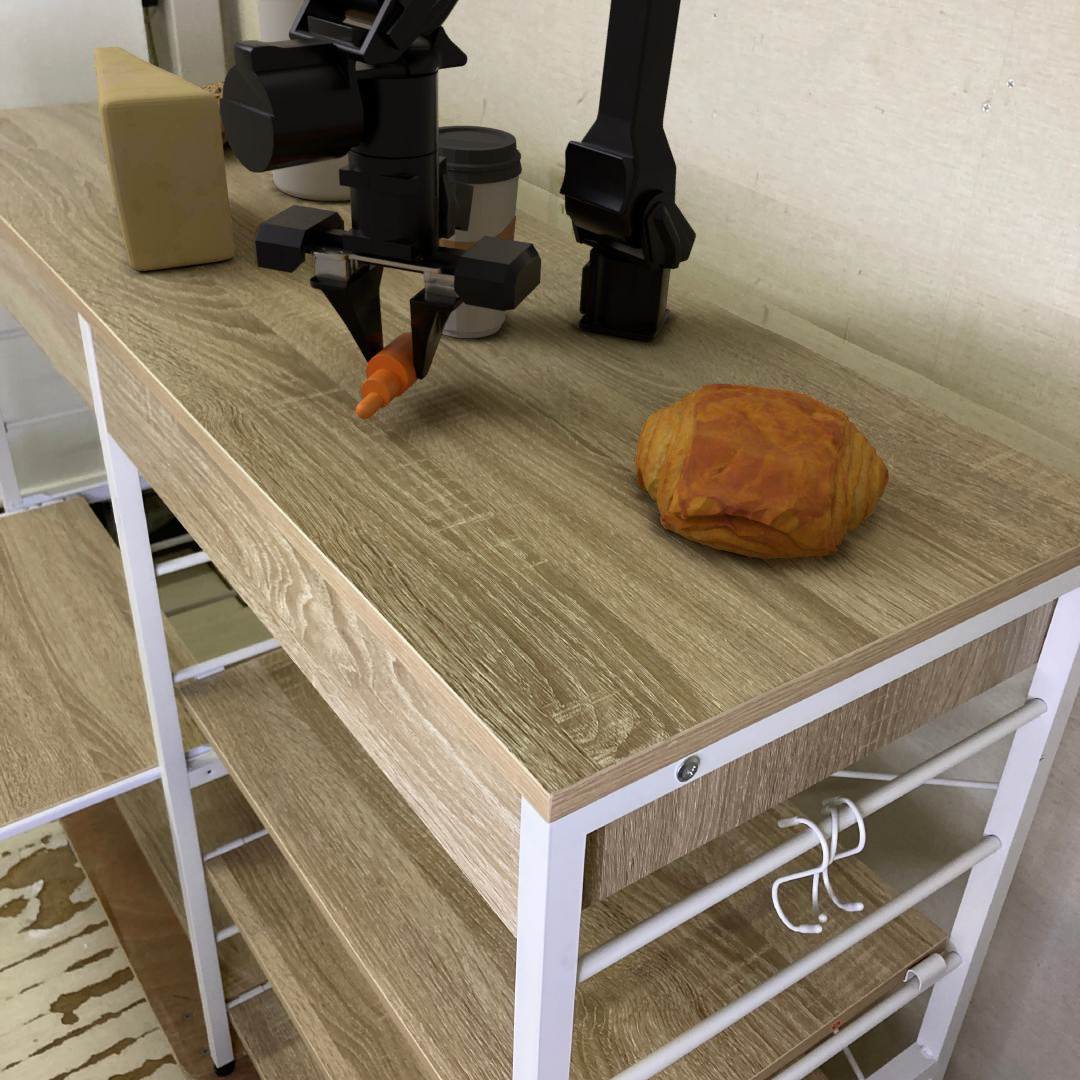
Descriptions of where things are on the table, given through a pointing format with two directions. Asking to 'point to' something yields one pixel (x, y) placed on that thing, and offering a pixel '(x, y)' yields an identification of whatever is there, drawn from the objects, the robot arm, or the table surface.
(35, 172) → the table surface
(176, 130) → the cheese
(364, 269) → the robot arm
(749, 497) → the croissant
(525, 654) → the table surface
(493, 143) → the coffee cup
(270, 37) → the cylinder vase
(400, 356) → the carrot
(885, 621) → the table surface
